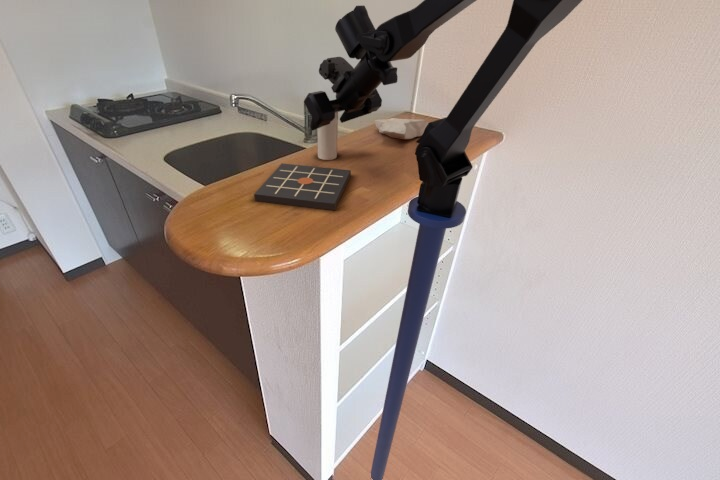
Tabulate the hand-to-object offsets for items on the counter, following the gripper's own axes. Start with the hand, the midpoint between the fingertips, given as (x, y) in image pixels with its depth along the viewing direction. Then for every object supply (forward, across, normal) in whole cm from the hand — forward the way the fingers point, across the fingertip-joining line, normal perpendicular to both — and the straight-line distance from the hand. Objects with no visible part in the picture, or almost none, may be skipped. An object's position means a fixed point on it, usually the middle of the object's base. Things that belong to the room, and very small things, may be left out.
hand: (326, 124), depth 83 cm
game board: (-2, +15, +13) cm, 20 cm away
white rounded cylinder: (+5, 0, +6) cm, 8 cm away
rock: (+5, -26, +6) cm, 27 cm away
